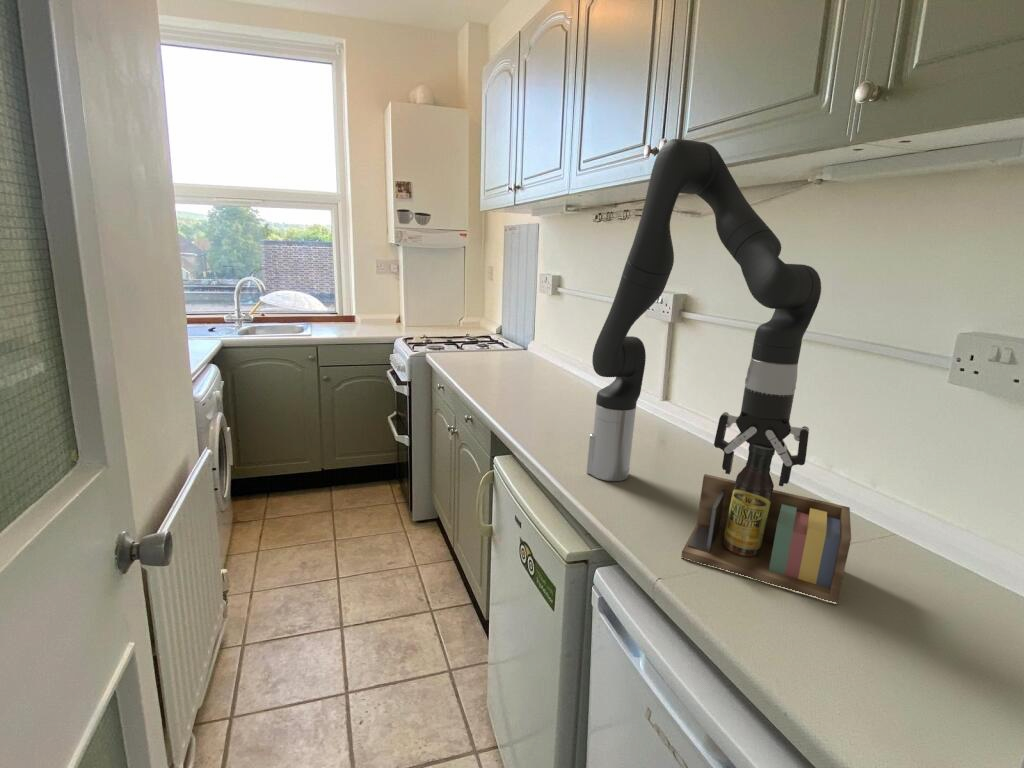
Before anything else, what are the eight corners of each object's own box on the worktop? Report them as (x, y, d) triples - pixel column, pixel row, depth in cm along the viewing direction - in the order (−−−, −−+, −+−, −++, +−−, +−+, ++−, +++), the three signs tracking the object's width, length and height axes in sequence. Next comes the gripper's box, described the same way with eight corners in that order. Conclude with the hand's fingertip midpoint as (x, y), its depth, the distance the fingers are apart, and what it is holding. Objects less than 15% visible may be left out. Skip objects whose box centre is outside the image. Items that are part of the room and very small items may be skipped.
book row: (768, 570, 94) (777, 520, 92) (774, 547, 101) (782, 501, 99) (830, 588, 89) (840, 536, 87) (830, 562, 97) (840, 515, 95)
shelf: (681, 558, 99) (689, 497, 96) (696, 528, 110) (704, 474, 107) (836, 605, 88) (851, 538, 85) (836, 567, 99) (849, 507, 96)
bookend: (687, 546, 100) (693, 502, 98) (698, 526, 108) (704, 485, 106) (709, 552, 98) (716, 508, 96) (718, 532, 106) (725, 490, 104)
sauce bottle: (718, 550, 99) (734, 443, 95) (727, 537, 104) (743, 435, 100) (757, 563, 96) (776, 453, 91) (765, 548, 101) (783, 443, 96)
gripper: (818, 390, 93) (801, 481, 97) (728, 376, 99) (715, 462, 103) (817, 399, 86) (798, 497, 90) (720, 384, 93) (706, 475, 97)
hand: (753, 478), depth 97 cm, fingers open, 8 cm apart
